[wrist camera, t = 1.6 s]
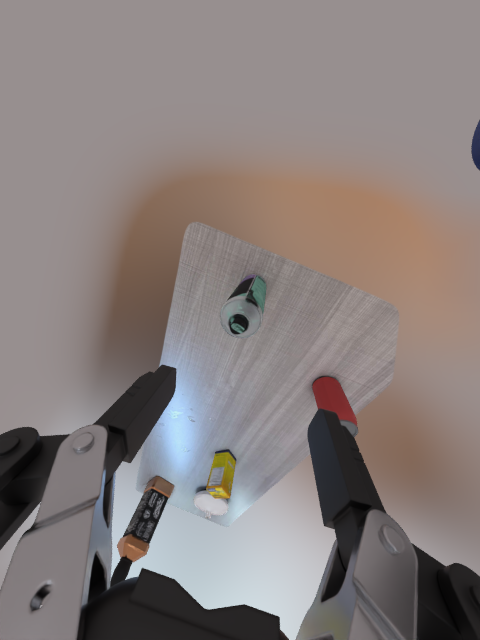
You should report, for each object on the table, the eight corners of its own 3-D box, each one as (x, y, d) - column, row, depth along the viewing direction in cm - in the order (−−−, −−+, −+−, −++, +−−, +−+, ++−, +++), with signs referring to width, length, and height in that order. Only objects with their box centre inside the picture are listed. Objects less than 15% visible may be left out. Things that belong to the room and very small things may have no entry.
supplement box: (223, 461, 66) (214, 499, 56) (215, 451, 65) (205, 489, 55) (236, 459, 64) (230, 499, 55) (229, 449, 63) (221, 488, 53)
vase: (192, 495, 82) (186, 517, 76) (200, 480, 75) (193, 502, 69) (224, 508, 82) (220, 530, 76) (234, 494, 75) (231, 518, 69)
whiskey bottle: (157, 475, 79) (92, 608, 51) (175, 485, 81) (121, 621, 52) (148, 481, 84) (83, 607, 55) (165, 491, 85) (110, 620, 56)
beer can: (322, 371, 43) (338, 414, 33) (345, 382, 44) (369, 429, 33) (306, 388, 46) (317, 432, 35) (328, 398, 46) (345, 446, 36)
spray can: (242, 272, 37) (214, 301, 19) (268, 276, 36) (265, 310, 18) (239, 297, 39) (211, 344, 21) (263, 301, 39) (256, 353, 21)
